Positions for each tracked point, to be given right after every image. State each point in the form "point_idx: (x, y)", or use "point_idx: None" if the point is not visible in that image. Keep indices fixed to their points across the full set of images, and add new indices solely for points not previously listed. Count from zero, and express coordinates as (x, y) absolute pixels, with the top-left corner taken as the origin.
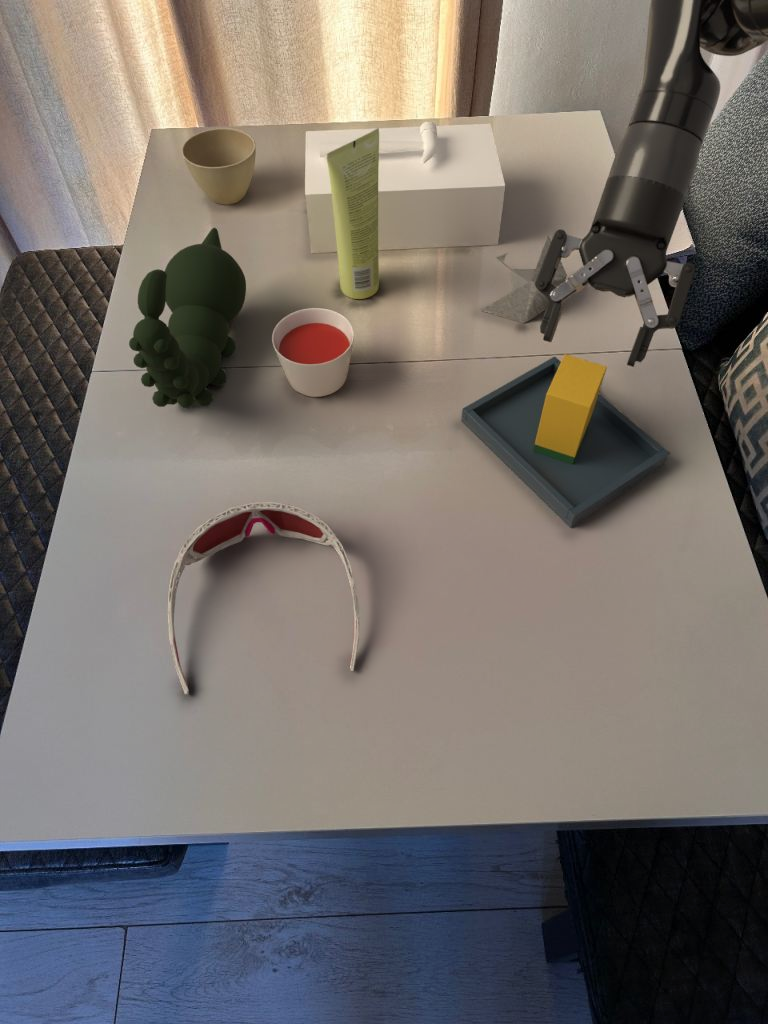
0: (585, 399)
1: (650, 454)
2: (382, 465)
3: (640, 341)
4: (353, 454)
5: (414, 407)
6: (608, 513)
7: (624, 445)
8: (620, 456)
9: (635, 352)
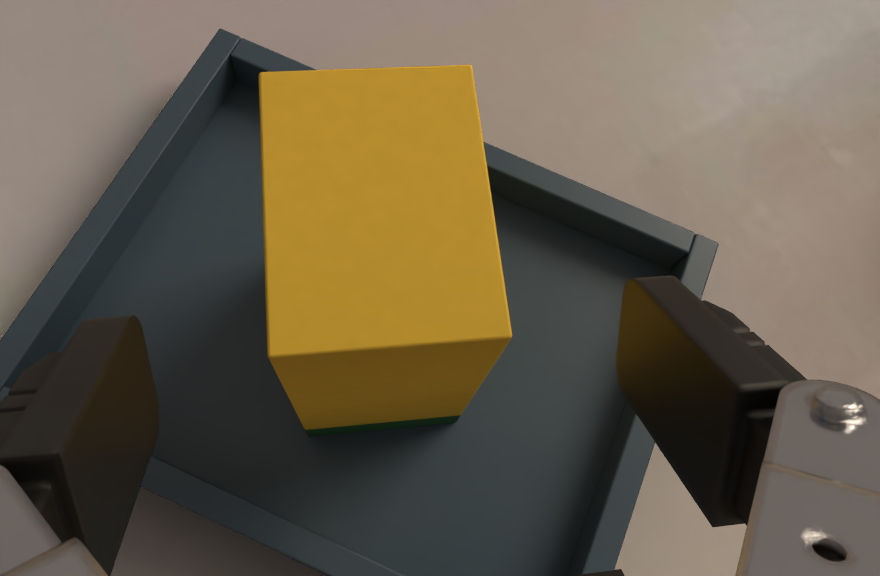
0: (296, 103)
1: None
2: (768, 42)
3: (52, 392)
4: (851, 41)
5: (839, 252)
6: None
7: None
8: (155, 354)
9: (86, 349)
